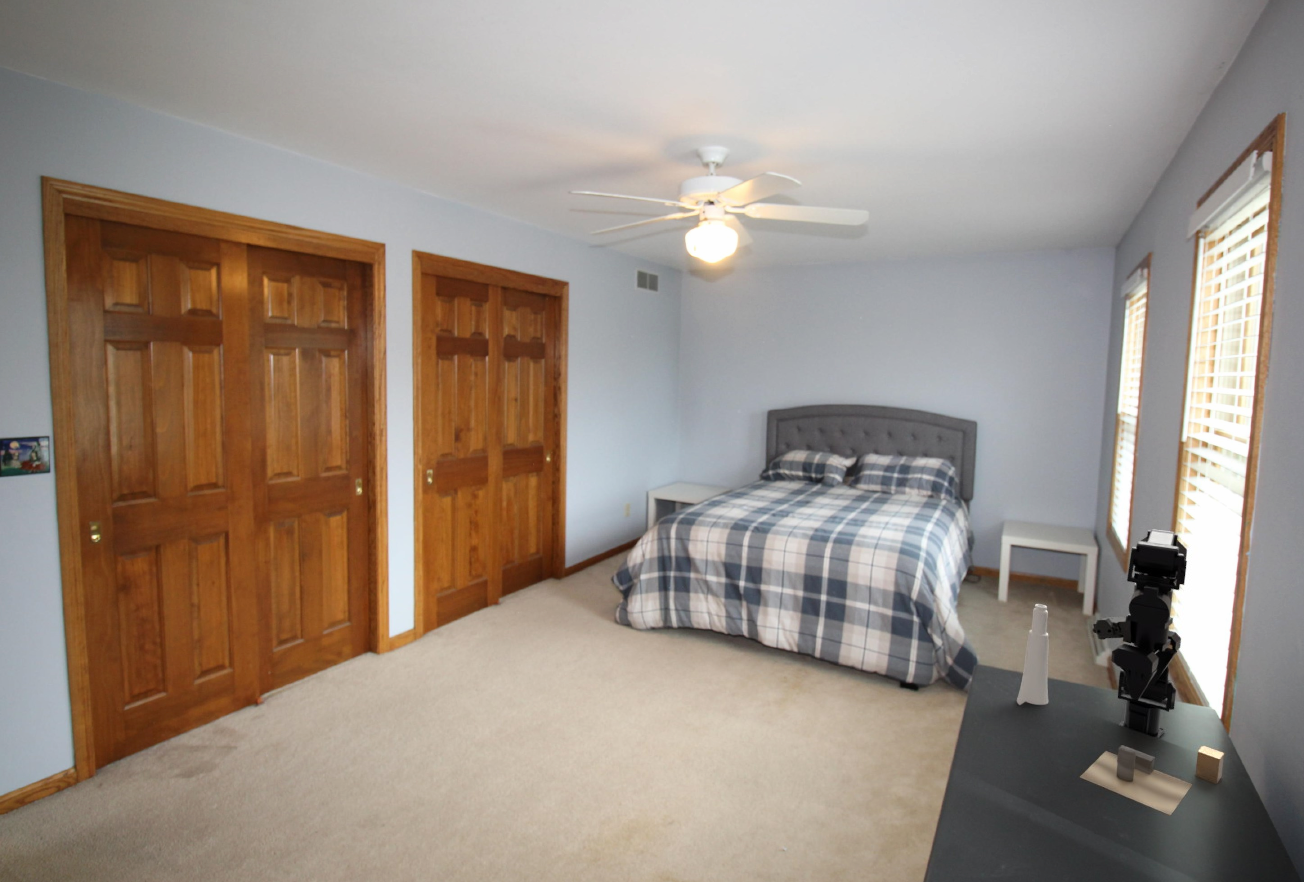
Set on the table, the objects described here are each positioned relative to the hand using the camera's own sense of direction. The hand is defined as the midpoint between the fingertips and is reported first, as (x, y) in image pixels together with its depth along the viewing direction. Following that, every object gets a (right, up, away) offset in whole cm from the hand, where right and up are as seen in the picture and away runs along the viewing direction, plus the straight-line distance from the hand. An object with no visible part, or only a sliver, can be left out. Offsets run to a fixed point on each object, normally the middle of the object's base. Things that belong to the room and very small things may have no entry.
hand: (1142, 692), depth 130 cm
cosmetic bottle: (-10, -10, +19) cm, 24 cm away
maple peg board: (-8, -13, -10) cm, 18 cm away
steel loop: (+3, -13, -5) cm, 14 cm away
